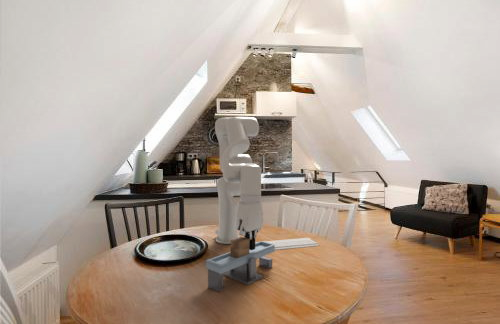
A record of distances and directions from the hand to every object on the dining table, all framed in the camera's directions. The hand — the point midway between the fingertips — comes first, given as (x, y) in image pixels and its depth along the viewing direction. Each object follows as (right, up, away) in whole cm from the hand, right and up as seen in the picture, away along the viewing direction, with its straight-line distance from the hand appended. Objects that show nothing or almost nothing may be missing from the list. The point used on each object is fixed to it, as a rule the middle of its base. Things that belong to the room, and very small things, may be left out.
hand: (250, 248), depth 113 cm
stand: (-3, -9, -2) cm, 10 cm away
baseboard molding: (+16, -8, +32) cm, 37 cm away
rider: (-4, -2, -4) cm, 5 cm away
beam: (-3, -2, -2) cm, 4 cm away
